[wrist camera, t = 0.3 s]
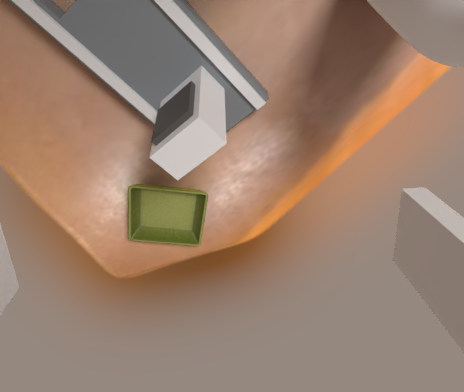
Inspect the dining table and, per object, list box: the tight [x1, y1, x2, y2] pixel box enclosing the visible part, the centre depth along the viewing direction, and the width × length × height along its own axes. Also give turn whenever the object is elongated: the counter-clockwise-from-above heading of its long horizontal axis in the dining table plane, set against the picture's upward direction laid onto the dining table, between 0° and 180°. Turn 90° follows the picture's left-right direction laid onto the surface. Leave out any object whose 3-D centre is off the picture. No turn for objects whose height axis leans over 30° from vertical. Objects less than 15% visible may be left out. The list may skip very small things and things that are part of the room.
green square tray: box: [128, 184, 208, 246], centre depth 49 cm, size 9×9×2 cm
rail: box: [9, 0, 269, 180], centre depth 32 cm, size 10×24×10 cm, turn 41°
